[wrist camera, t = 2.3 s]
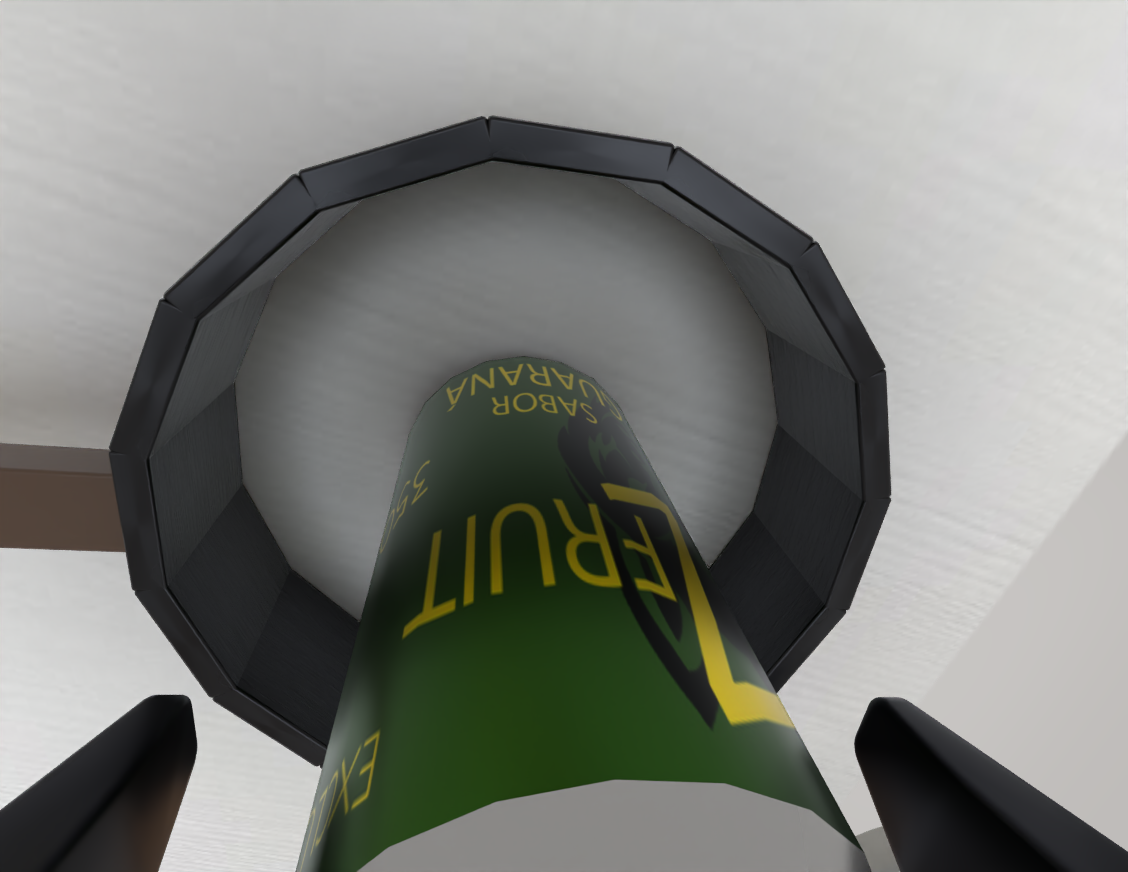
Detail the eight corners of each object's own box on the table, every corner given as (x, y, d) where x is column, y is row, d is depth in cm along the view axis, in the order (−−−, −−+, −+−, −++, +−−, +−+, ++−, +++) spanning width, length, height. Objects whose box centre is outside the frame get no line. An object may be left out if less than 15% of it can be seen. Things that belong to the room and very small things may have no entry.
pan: (871, 183, 14) (1009, 194, 10) (724, 673, 19) (780, 792, 16) (-280, 12, 10) (-689, -65, 7) (-58, 665, 16) (-217, 815, 12)
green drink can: (617, 541, 17) (864, 1239, 6) (413, 546, 16) (275, 1348, 5) (636, 348, 15) (1076, 894, 4) (402, 345, 14) (126, 1003, 3)
